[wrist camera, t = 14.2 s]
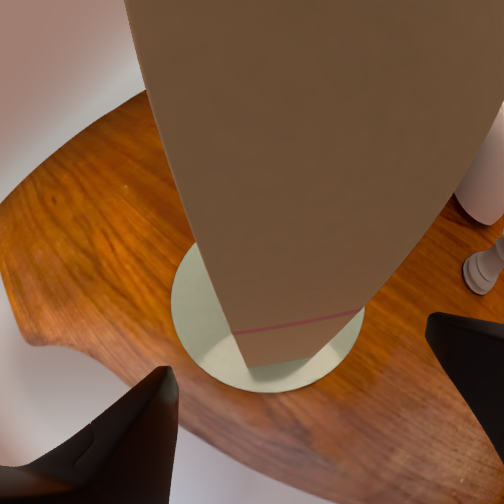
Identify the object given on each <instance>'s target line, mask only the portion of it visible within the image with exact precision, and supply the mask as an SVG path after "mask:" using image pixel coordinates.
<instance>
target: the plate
mask: <svg viewBox="0 0 504 504" xmlns="http://www.w3.org/2000/svg"><path fill="white" fill-rule="evenodd" d="M364 309H365V306H364V307H363V309H362V310H361V311H360V312H359V313H357V314H356V315H355V317H354V318H353V319H352V320H351V321H350V322H349V323H348V324H347V325H346V326H345V327H344V328H343V329H342V330H341V331H340V332H339V333H338V334H337V335H336V336H335V337H334V338H333V339H332V340H331V341H330V342H329V343H327V344H326V345H325V346H324V347H323V348H322V349H321V350H320V351H319V352H318V353H317V354H316V355H315V356H314V357H309V358H304V359H299V360H294V361H288V362H283V363H277V364H271V365H265V366H258V367H252V368H247V366H246V364H245V362H244V360H243V357H242V355H241V353H240V351H239V348H238V346H237V344H236V341H235V339H234V337H233V335H232V333H231V331H230V327H229V325H228V322H227V320H226V318H225V315H224V313H223V310H222V308H221V305H220V303H219V300H218V298H217V295H216V293H215V290H214V288H213V285H212V283H211V280H210V278H209V275H208V273H207V270H206V267H205V265H204V262H203V260H202V257H201V254H200V252H199V249H198V246H197V244H196V243H195V244H194V245H193V246H192V247H191V248H190V249H189V251H188V252H187V254H186V255H185V256H184V258H183V260H182V262H181V263H180V265H179V268H178V270H177V273H176V275H175V278H174V282H173V286H172V294H171V312H172V318H173V324H174V327H175V330H176V333H177V335H178V337H179V339H180V341H181V343H182V345H183V347H184V349H185V350H186V351H187V353H188V354H189V356H190V357H191V358H192V359H193V360H194V361H195V363H196V364H197V365H198V366H199V367H200V368H202V369H203V370H204V371H205V372H207V373H208V374H209V375H210V376H212V377H214V378H215V379H217V380H219V381H221V382H222V383H224V384H227V385H229V386H232V387H234V388H237V389H241V390H245V391H249V392H256V393H281V392H287V391H292V390H296V389H299V388H302V387H304V386H307V385H309V384H311V383H313V382H315V381H317V380H319V379H321V378H322V377H324V376H325V375H327V374H328V373H330V372H331V371H332V370H333V369H334V368H335V367H337V366H338V365H339V364H340V363H341V362H342V361H343V359H344V358H345V357H346V356H347V354H348V353H349V352H350V350H351V348H352V347H353V345H354V343H355V341H356V340H357V337H358V335H359V332H360V330H361V326H362V322H363V318H364Z"/></svg>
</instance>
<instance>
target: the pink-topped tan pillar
mask: <svg viewBox="0 0 504 504" xmlns="http://www.w3.org/2000/svg"><path fill="white" fill-rule="evenodd" d="M124 2H125V6H126V11H127V15H128V20H129V25H130V29H131V33H132V37H133V42H134V45H135V50H136V54H137V58H138V62H139V65H140V69H141V73H142V77H143V80H144V84H145V88H146V91H147V95H148V98H149V102H150V105H151V109H152V112H153V115H154V119H155V122H156V125H157V129H158V132H159V135H160V138H161V142H162V145H163V148H164V151H165V154H166V157H167V160H168V164H169V167H170V170H171V173H172V176H173V179H174V182H175V185H176V188H177V190H178V193H179V196H180V199H181V202H182V205H183V208H184V211H185V213H186V216H187V219H188V222H189V225H190V227H191V230H192V233H193V236H194V238H195V241H196V244H197V246H198V249H199V252H200V254H201V257H202V260H203V262H204V265H205V267H206V270H207V273H208V275H209V278H210V280H211V283H212V285H213V288H214V290H215V293H216V295H217V298H218V300H219V303H220V305H221V308H222V310H223V313H224V315H225V318H226V320H227V322H228V325H229V327H230V331H231V333H232V335H233V337H234V339H235V341H236V344H237V346H238V348H239V351H240V353H241V355H242V357H243V360H244V362H245V364H246V366H247V368H252V367H258V366H265V365H271V364H277V363H283V362H288V361H294V360H299V359H304V358H309V357H314V356H315V355H316V354H317V353H318V352H319V351H320V350H321V349H322V348H323V347H324V346H325V345H326V344H327V343H329V342H330V341H331V340H332V339H333V338H334V337H335V336H336V335H337V334H338V333H339V332H340V331H341V330H342V329H343V328H344V327H345V326H346V325H347V324H348V323H349V322H350V321H351V320H352V319H353V318H354V317H355V315H356V314H357V313H359V312H360V311H361V310H362V309H363V307H364V306H365V305H366V304H367V303H368V302H369V301H370V299H371V298H372V297H373V296H374V295H375V294H376V293H377V292H378V291H379V289H380V288H381V287H382V286H383V285H384V284H385V283H386V281H387V280H388V279H389V278H390V277H391V276H392V274H393V273H394V272H395V271H396V270H397V268H398V267H399V266H400V265H401V264H402V262H403V261H404V260H405V259H406V257H407V256H408V255H409V254H410V252H411V251H412V250H413V249H414V247H415V246H416V245H417V243H418V242H419V241H420V240H421V238H422V237H423V236H424V234H425V233H426V232H427V230H428V229H429V227H430V226H431V225H432V223H433V222H434V221H435V219H436V218H437V216H438V215H439V213H440V212H441V211H442V209H443V208H444V206H445V205H446V203H447V202H448V200H449V199H450V197H451V196H452V194H453V193H454V191H455V190H456V188H457V187H458V185H459V183H460V182H461V180H462V179H463V177H464V175H465V174H466V172H467V170H468V169H469V167H470V165H471V164H472V162H473V160H474V158H475V157H476V155H477V153H478V151H479V150H480V148H481V146H482V144H483V142H484V140H485V138H486V136H487V135H488V133H489V131H490V129H491V127H492V125H493V123H494V121H495V118H496V116H497V114H498V112H499V110H500V108H501V106H502V103H503V101H504V0H124Z"/></svg>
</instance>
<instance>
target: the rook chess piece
mask: <svg viewBox="0 0 504 504" xmlns="http://www.w3.org/2000/svg"><path fill="white" fill-rule="evenodd" d="M503 268H504V230H503V237H502V238H498V239H497V240H496V244H495V245H494V246H492V247H491V248H490V249H488V250H487V251H483V252H478V253H474V254H472V256H471V257H469V258H467V260H466V261H465V263H464V267H463V273H464V279H465V281H466V284H467V285H468V287H469V288H470V289H471V290H472V291H473V292H475V293H478V294H482V295H483V294H485V293H487V292H488V291H489V290H490V289H492V287H493V286H494V284H495V283H496V280H497V278H498V274H499V273H500V272H501V271H502V270H503Z"/></svg>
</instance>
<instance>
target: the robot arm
mask: <svg viewBox="0 0 504 504" xmlns="http://www.w3.org/2000/svg"><path fill="white" fill-rule="evenodd" d="M425 338H426V341H427V342H428V344H429V346H430V347H431V349H432V351H433V352H434V354H435V356H436V358H437V359H438V361H439V363H440V364H441V366H442V368H443V369H444V371H445V372H446V374H447V375H448V377H449V378H450V379H451V381H452V382H453V384H454V385H455V386H456V388H457V389H458V391H459V392H460V394H461V395H462V397H463V398H464V400H465V401H466V403H467V404H468V406H469V407H470V409H471V410H472V412H473V413H474V415H475V416H476V418H477V420H478V421H479V423H480V424H481V426H482V428H483V429H484V431H485V432H486V434H487V436H488V437H489V439H490V441H491V442H492V444H493V446H494V448H495V450H496V452H497V453H498V455H499V457H500V459H501V461H502V462H503V464H504V324H500V323H495V322H489V321H484V320H479V319H473V318H468V317H463V316H458V315H453V314H447V313H442V312H435V313H432V314H430V315H429V316H428V319H427V325H426V331H425ZM178 407H179V387H178V384H177V381H176V378H175V375H174V372H173V370H172V368H171V367H170V366H158V367H157V368H156V369H154V370H153V371H152V372H151V373H150V374H149V375H147V376H146V377H145V378H144V379H143V380H141V381H140V382H139V383H138V384H137V385H135V386H134V387H133V388H132V389H131V390H129V391H128V392H127V393H126V394H125V395H123V397H121V398H120V399H119V400H118V401H116V402H115V403H114V404H113V405H111V406H110V407H109V408H108V409H106V410H105V411H104V412H103V413H102V414H100V415H99V416H98V417H97V418H95V419H94V420H93V421H92V422H91V424H88V425H87V426H85V427H84V428H83V429H82V430H80V431H79V432H78V433H76V434H75V435H74V436H72V437H71V438H70V439H68V440H67V441H65V442H64V443H62V444H61V445H59V446H57V447H56V448H54V449H53V450H51V451H49V452H48V453H46V454H45V455H43V456H41V457H40V458H38V459H36V460H35V461H33V462H31V463H29V464H27V465H24V466H19V467H9V466H0V504H169V496H170V487H171V478H172V471H173V463H174V455H175V447H176V441H177V433H178Z"/></svg>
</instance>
